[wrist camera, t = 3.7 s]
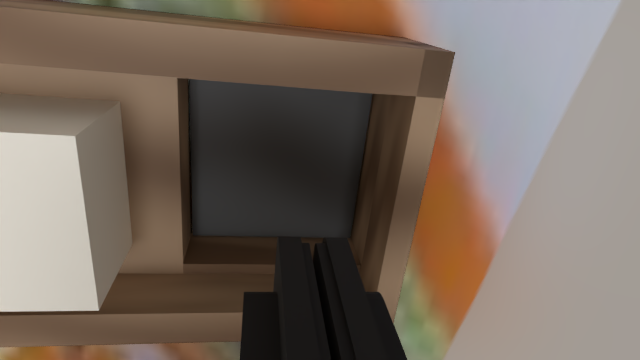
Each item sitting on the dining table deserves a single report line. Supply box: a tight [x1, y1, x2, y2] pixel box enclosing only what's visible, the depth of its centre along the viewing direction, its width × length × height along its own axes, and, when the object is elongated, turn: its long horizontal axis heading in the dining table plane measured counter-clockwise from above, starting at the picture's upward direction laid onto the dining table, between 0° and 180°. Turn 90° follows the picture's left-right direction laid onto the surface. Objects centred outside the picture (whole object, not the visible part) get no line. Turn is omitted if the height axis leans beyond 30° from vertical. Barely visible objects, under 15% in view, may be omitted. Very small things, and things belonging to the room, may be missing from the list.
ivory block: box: [0, 93, 132, 312], centre depth 14 cm, size 6×6×4 cm
